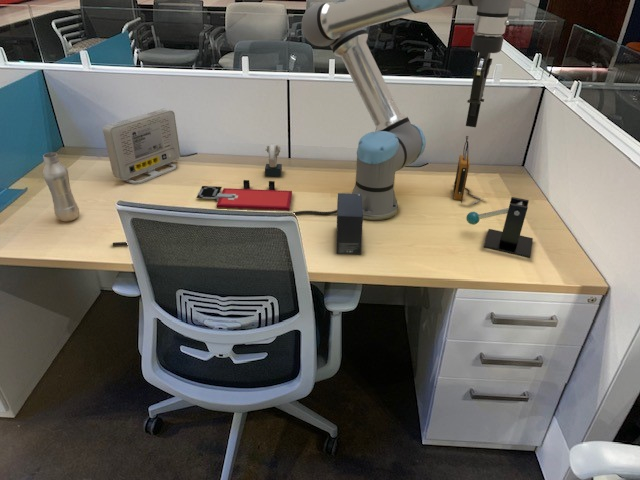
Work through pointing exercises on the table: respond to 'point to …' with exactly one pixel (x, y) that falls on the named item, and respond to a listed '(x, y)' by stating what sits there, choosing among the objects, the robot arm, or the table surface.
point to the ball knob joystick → (486, 214)
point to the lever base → (511, 232)
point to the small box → (349, 223)
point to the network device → (142, 145)
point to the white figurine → (273, 161)
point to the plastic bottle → (59, 188)
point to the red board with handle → (248, 197)
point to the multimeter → (462, 176)
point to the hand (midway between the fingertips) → (471, 125)
